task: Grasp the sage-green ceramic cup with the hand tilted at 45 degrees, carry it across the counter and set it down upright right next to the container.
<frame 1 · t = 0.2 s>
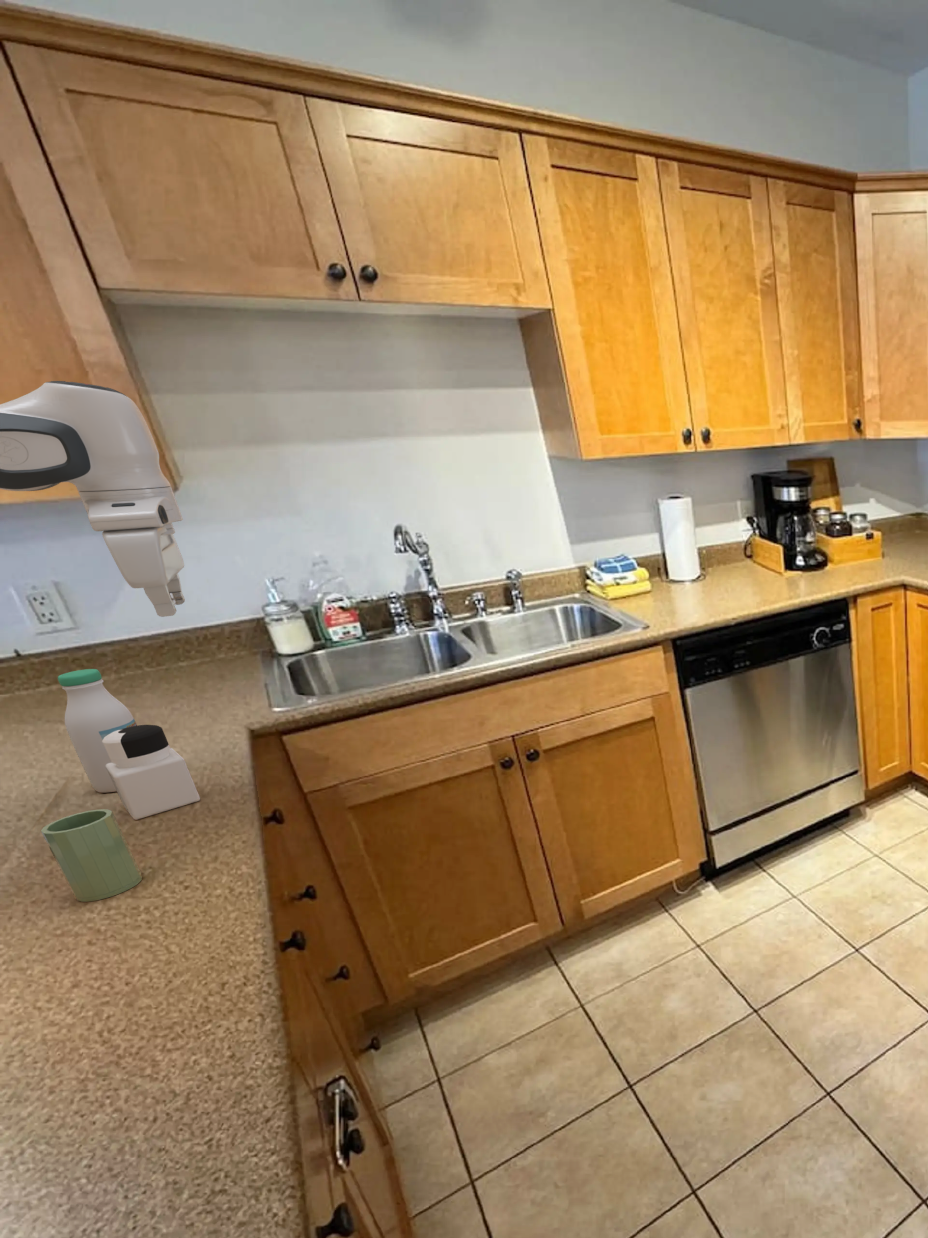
hand: (172, 609, 105), 32 cm above the counter, tool pointing down, fingers open, 8 cm apart
cup: (110, 887, 95), on the counter
milk bottle: (128, 784, 125), on the counter
container: (163, 805, 117), on the counter
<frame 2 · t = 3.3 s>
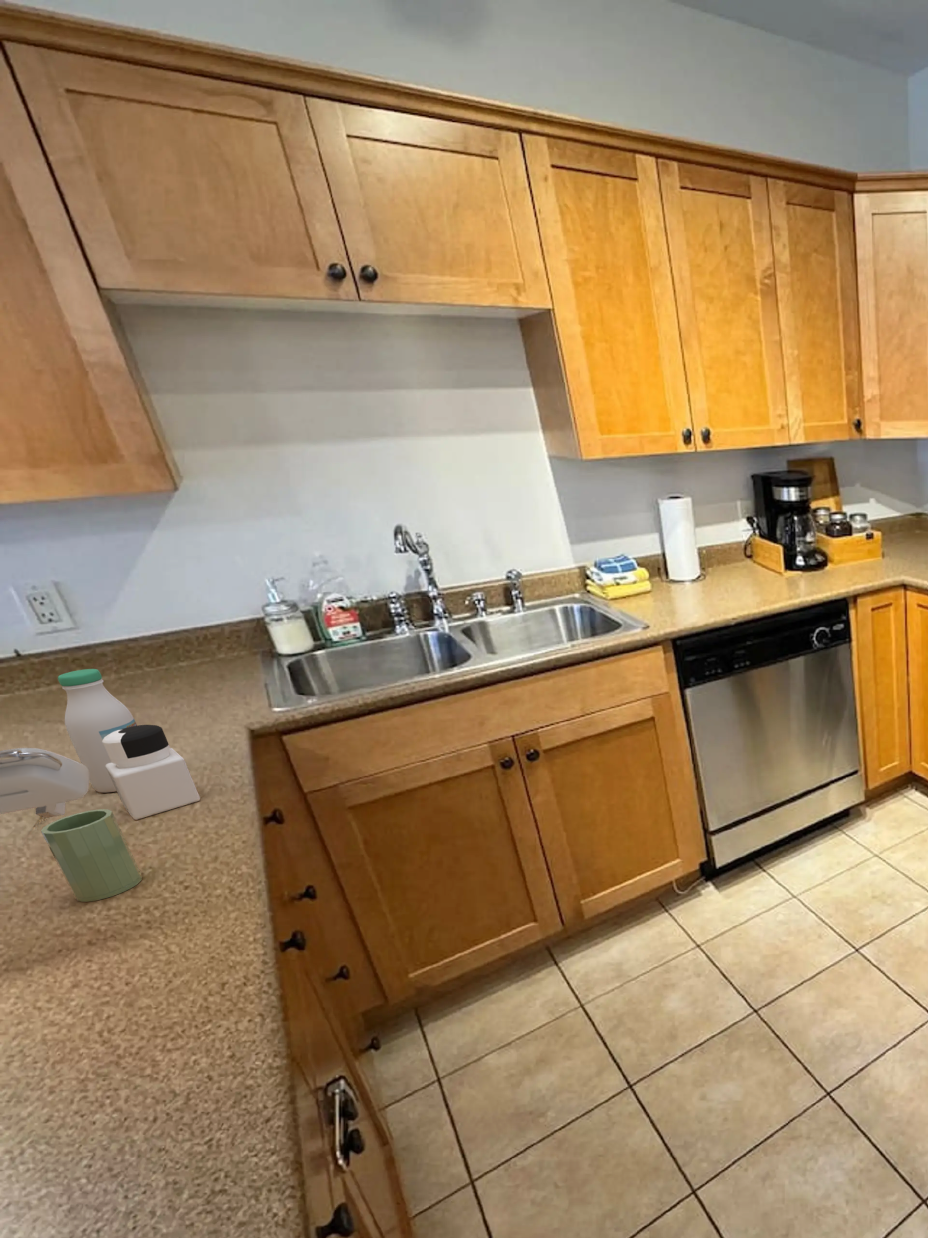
nothing on the counter moved.
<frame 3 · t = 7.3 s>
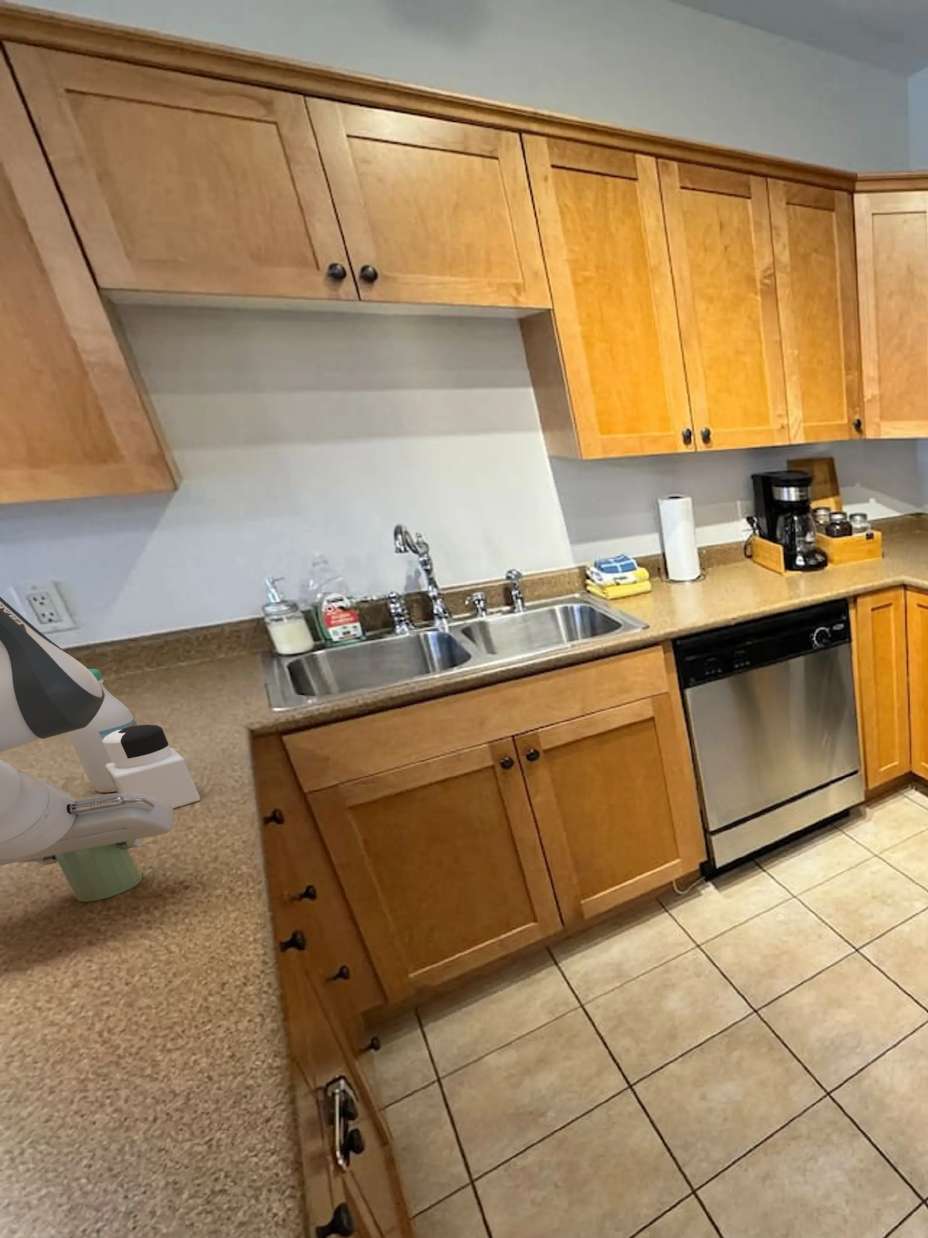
hand: (94, 849, 94), 5 cm above the counter, tool tilted 45°, fingers closed on cup, 6 cm apart
cup: (110, 887, 95), on the counter, touching gripper
everything else where it was.
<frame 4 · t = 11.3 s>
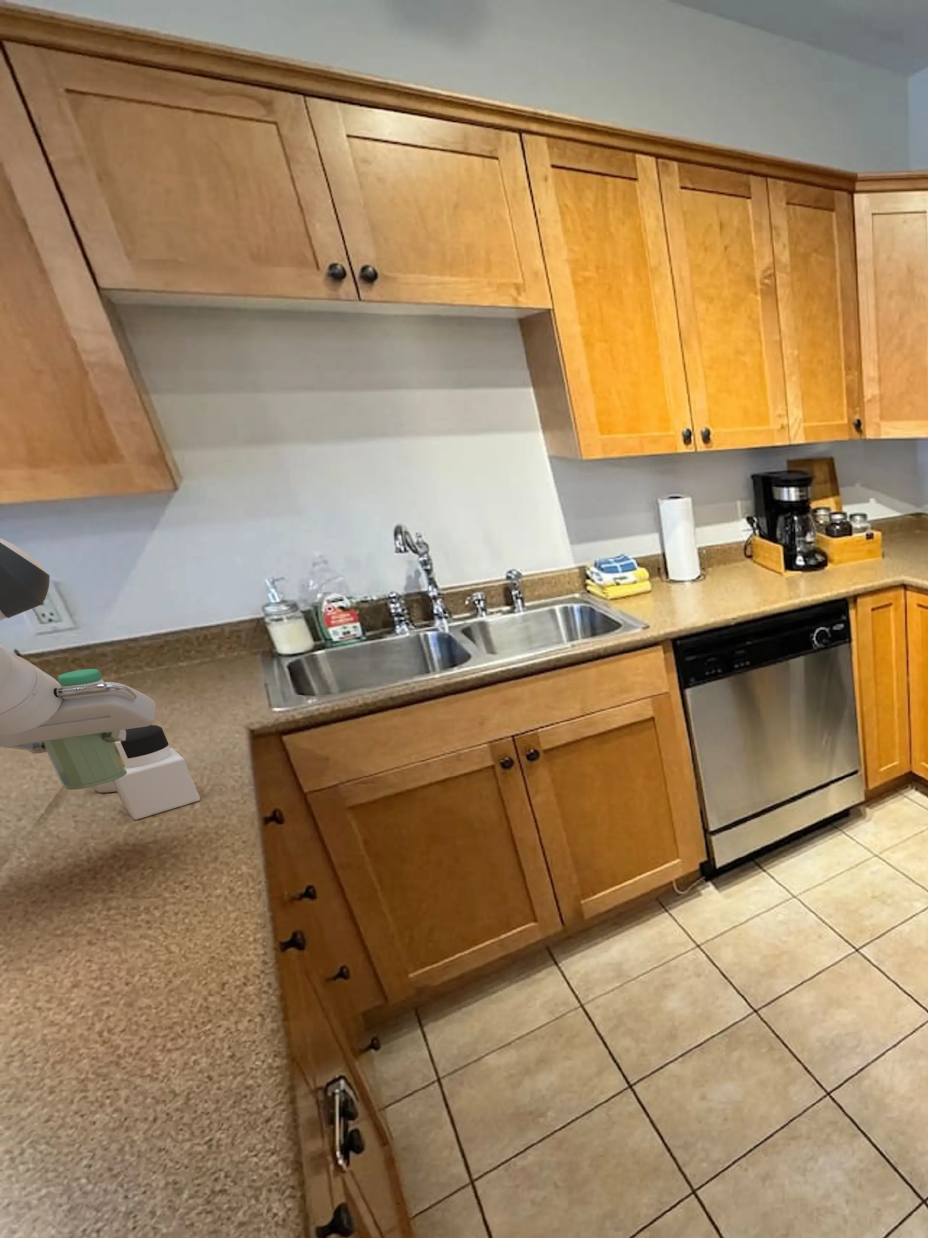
hand: (81, 742, 100), 16 cm above the counter, tool tilted 45°, fingers closed on cup, 6 cm apart
cup: (96, 779, 101), point 11 cm above the counter, touching gripper
everything else where it was.
when the fingers open (5 cm above the counter, at t = 15.4 s): cup stays where it is, on the counter.
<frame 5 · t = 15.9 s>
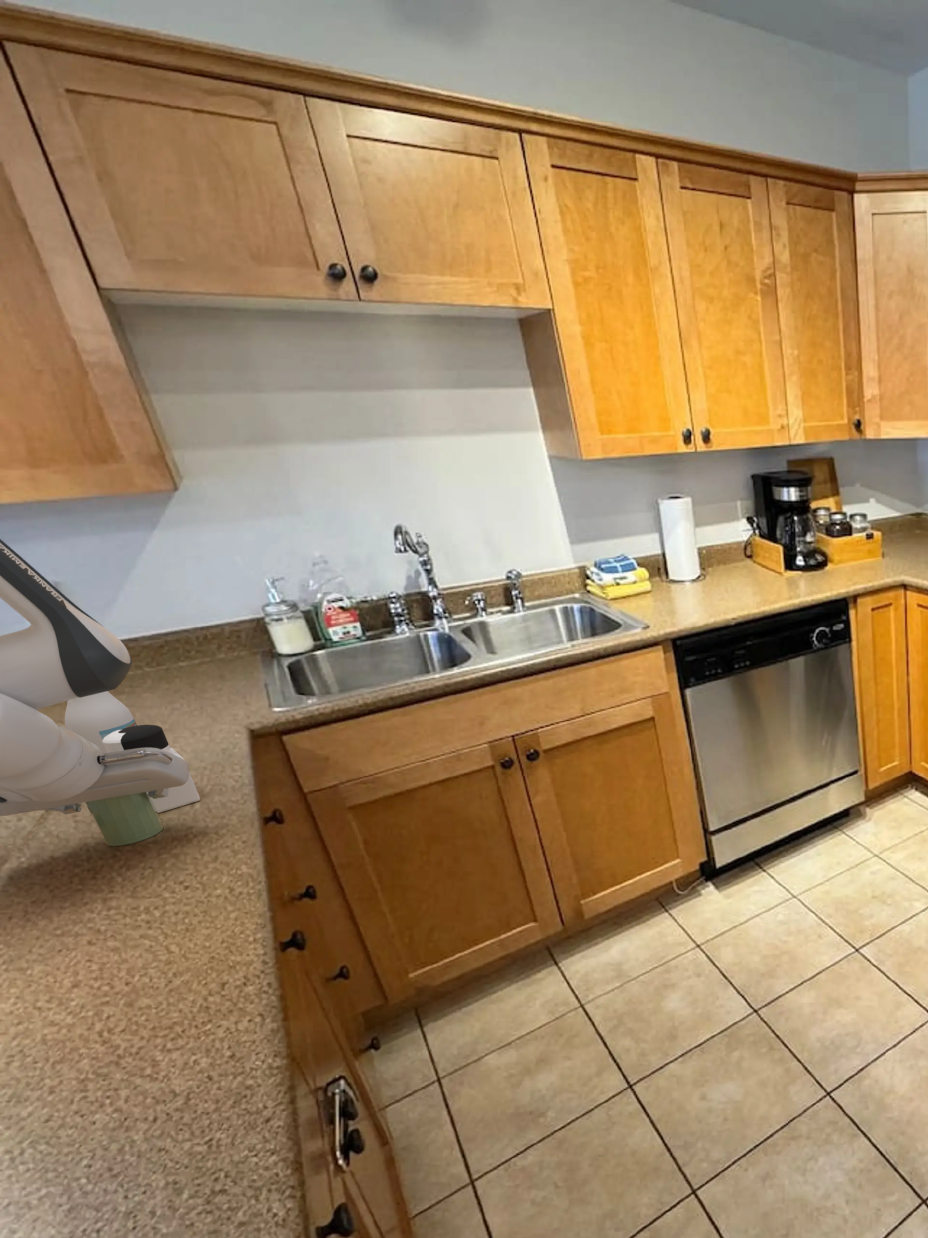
hand: (119, 800, 106), 6 cm above the counter, tool tilted 45°, fingers open, 8 cm apart
cup: (135, 835, 108), on the counter
everything else where it was.
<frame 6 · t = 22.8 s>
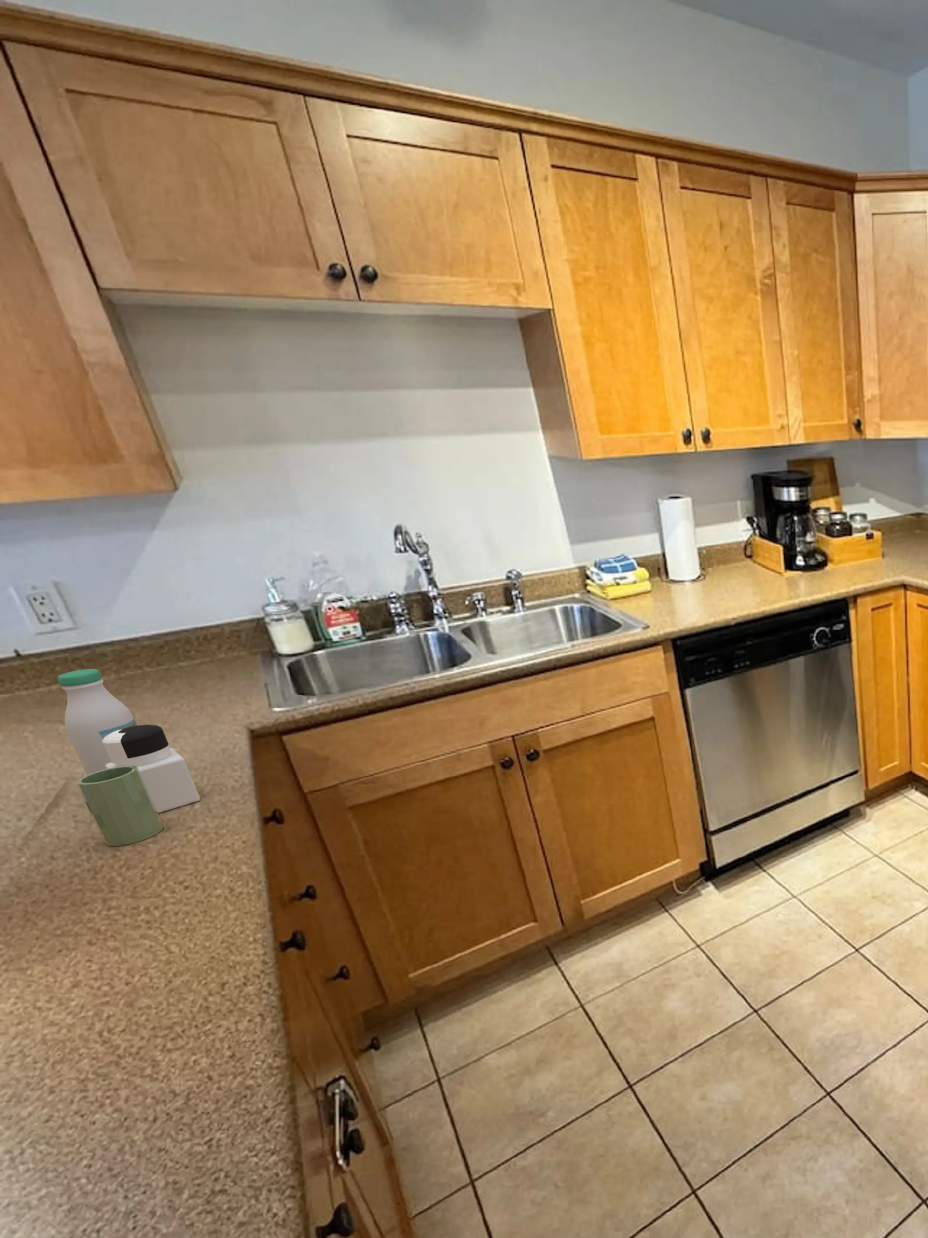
nothing on the counter moved.
at the end: cup 11.1 cm from the container (horizontally); cup moved 17.0 cm from its start; cup tilted 0° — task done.
